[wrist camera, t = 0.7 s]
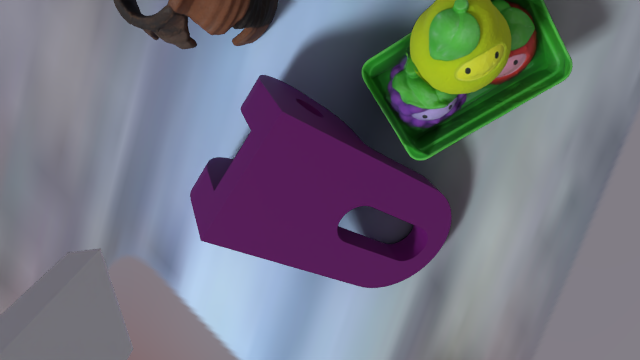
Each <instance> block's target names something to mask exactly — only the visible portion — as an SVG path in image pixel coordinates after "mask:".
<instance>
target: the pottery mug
mask: <svg viewBox="0 0 640 360" xmlns="http://www.w3.org/2000/svg"><path fill="white" fill-rule="evenodd" d="M114 3H115V6H116V8H117V10H118V11H119V13H120V14H121V16H122V17H123V18H124V19H125V20H126V21H127V22H128V23H129V24H132V25H134V26H136V27H139V28H141V29H143V30H144V31H145V32H146V33H147V34H148V35H150V36H151V37H152V38H153V39H155V40H157V39H158V38H161V39H162V40H164V41H165V42H167V43H171V44H174V45H176V46H177V47H179V48H181V49H189V48H194V47H196V46H197V43H196V41H195V40H194V39H192V38H191V37H190V33H189V30H188V17H190V18H191V19H192V20H193V21H194V22H195V23H196V24H198V25H199V26H200V27H201V28H203V29H204V30H206V31H207V32H208V33H209V34H211V35H220V34H225V33H226V32H227V31H228V30H229V29H230V28H231V27H233V28H234V29H243V28H245V29H244V30H243V31H242V32H241V33H240V34H238V35H237V36H236V37H235V38H234V39H233V40H232V42H233V44H234V45H235V46H241V45H245V44H248V43H253V42H254V41H255V40H257V39H258V38H259V37H260V36H261V35H262V34H263V33H264V32H265V31H266V29H267V28H268V26H269V24H270V23H271V22H272V20H273V17H274V15H275V12H276V10H277V6H278V0H169V1H168V4H167V6H165V7H164V8H163V9H162V10H161V11H159V12H158V13H156V14H154V15H151V16H144V15H143V14H141V12H140V10H139V7H138V5H137V2H136V0H114Z"/></svg>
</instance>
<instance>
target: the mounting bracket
mask: <svg viewBox="0 0 640 360" xmlns="http://www.w3.org/2000/svg"><path fill="white" fill-rule="evenodd" d="M241 112H242V114H243V116H244V118H245V120H246V122H247V123H248V125H249V127H250V129H251V132H250V134H249V136H248V137H247V139H246V140H245V142H244V144H243V145H242V147H241V149H240V150H239V152H238V153H237V155H236V157H235V158H234V160H233V159H229V158H222V157H219V158H213V159H211V160H210V161H209V162H208V163H207V165H206V167H205V168H204V170H203V172H202V173H201V175H200V177H199V178H198V180H197V182H196V183H195V185H194V187H193V188H192V190H191V193H190V197H191V202H192V206H193V210H194V214H195V218H196V222H197V226H198V230H199V235H200V239H201V241H204V242H207V243H211V244H214V245H218V246H221V247H225V248H228V249H232V250H235V251H239V252H242V253H246V254H249V255H253V256H256V257H260V258H263V259H267V260H270V261H273V262H277V263H280V264H284V265H287V266H291V267H294V268H298V269H301V270H305V271H308V272H312V273H315V274H319V275H322V276H326V277H329V278H332V279H336V280H339V281H343V282H346V283H350V284H353V285H357V286H361V287H366V288H378V287H385V286H389V285H393V284H395V283H398V282H401V281H403V280H405V279H407V278H409V277H410V276H412V275H414V274H415V273H417V272H418V271H420V270H421V269H422V268H423V267H425V266H426V265H427V264H428V263H429V262H430V261H431V260H432V259H433V258H434V257H435V255H436V254H437V253H438V252H439V250H440V249H441V247H442V246H443V244H444V242H445V240H446V238H447V236H448V233H449V230H450V226H451V209H450V206H449V203H448V201H447V199H446V198H445V197H444V195H443V194H442V193H441V192H440V191H439V190H438V189H437V188H436V187H435V186H434V185H432V184H431V183H430V182H429V181H428V180H427V179H426V178H425V177H424V176H422V175H421V174H419V173H417V172H415V171H413V170H411V169H409V168H407V167H405V166H403V165H402V164H400V163H398V162H396V161H394V160H392V159H390V158H388V157H386V156H384V155H382V154H380V153H378V152H377V151H375V150H373V149H371V148H370V147H368V146H367V145H366V144H364V143H363V142H362V141H361V140H360V138H359V137H358V136H357V135H356V134H355V133H354V132H353V131H352V130H351V129H350V128H349V127H348V126H347V125H346V124H345V123H344V122H343V121H342V120H340V119H339V118H338V117H337V116H335V115H334V114H333V113H332V112H330V111H329V110H328V109H326V108H325V107H323V106H322V105H320V104H318V103H317V102H315V101H314V100H312V99H311V98H309V97H308V96H306V95H305V94H303V93H302V92H300V91H298V90H297V89H295V88H293V87H292V86H290V85H288V84H286V83H284V82H282V81H280V80H278V79H275V78H273V77H270V76H266V75H260V76H259V78H258V80H257V81H256V83H255V85H254V86H253V88H252V90H251V91H250V93H249V95H248V96H247V98H246V100H245V101H244V103H243V105H242V106H241ZM360 206H370V207H373V208H375V209H377V210H380V211H382V212H385V213H387V214H389V215H392V216H394V217H396V218H399V219H401V220H403V221H406V222H408V223H410V224H413V225H414V226H413V229H412V231H411V232H410V234H409V235H408V236H407V237H406V238H405V239H403V240H402V241H400V242H398V243H395V244H384V243H382V242H379V241H376V240H374V239H371V238H368V237H365V236H363V235H360V234H357V233H355V232H352V231H349V230H347V229H344V228H341V227H339V226H338V224H339V222H340V220H341V219H342V217H343V216H344V215H345V214H346V213H347V212H349V211H350V210H352V209H354V208H356V207H360Z"/></svg>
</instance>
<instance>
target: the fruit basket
mask: <svg viewBox="0 0 640 360" xmlns="http://www.w3.org/2000/svg"><path fill="white" fill-rule="evenodd" d="M571 71H572V59H571V57H570V55H569V53H568V51H567V49H566V47H565V45H564V43H563V41H562V39H561V37H560V35H559V33H558V31H557V29H556V26H555V24H554V23H553V20H552V18H551V16H550V14H549V12H548V10H547V7H546V5H545V3H544V0H436V1H435V2H434V3H433V4H432V5H431V6H430V7H429V8H427V9H426V10H425V11H424V12H423V13H422V14H421V16H420V17H419V18H418V20H417V21H416V23H415V25H414V27H413V30H412V32H411V33H410V34H408V35H406V36H405V37H403V38H402V39H400V40H399V41H397V42H396V43H394V44H392V45H391V46H389V47H388V48H386V49H384V50H383V51H381V52H380V53H378V54H376V55H375V56H373V57H372V58H370V59H369V60H367V61H366V62H365V63H364V65H363V67H362V78H363V81H364V82H365V84H366V85H367V87H368V88H369V90H370V91H371V93H372V95H373V97H374V98H375V100H376V102H377V103H378V105H379V106H380V108H381V110H382V111H383V113H384V114H385V116H386V118H387V119H388V121H389V123H390V124H391V126H392V128H393V129H394V131H395V133H396V134H397V136H398V138H399V139H400V141H401V143H402V144H403V146H404V148H405V149H406V151H407V153H408V154H409V155H410V157H411V158H413V159H415V160H420V161H421V160H426V159H428V158H430V157H432V156H434V155H435V154H437V153H438V152H440V151H442V150H444V149H445V148H447V147H449V146H450V145H452V144H454V143H456V142H457V141H459V140H460V139H462V138H464V137H466V136H467V135H469V134H471V133H473V132H475V131H476V130H478V129H480V128H482V127H483V126H485V125H487V124H489V123H490V122H492V121H494V120H496V119H498V118H499V117H501V116H503V115H504V114H506V113H508V112H510V111H511V110H513V109H515V108H516V107H518V106H520V105H522V104H523V103H525V102H527V101H528V100H530V99H532V98H534V97H536V96H537V95H539V94H541V93H543V92H544V91H546V90H548V89H550V88H552V87H554V86H555V85H557V84H559V83H561V82H562V81H564V80H565V79H566V78H567V77H568V76H569V75H570V73H571Z"/></svg>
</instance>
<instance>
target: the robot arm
mask: <svg viewBox="0 0 640 360" xmlns="http://www.w3.org/2000/svg"><path fill="white" fill-rule="evenodd" d="M132 350H133V347H132V344H131V340H130V338H129V334H128V331H127V328H126V325H125V322H124V319H123V316H122V313H121V310H120V307H119V304H118V300H117V297H116V294H115V292H114V289H113V285H112V282H111V279H110V276H109V273H108V270H107V267H106V264H105V261H104V257H103V254H102V251H101V249H93V250H85V251H77V252H68V253H67V254H66V255H65V256H64V257H63V258H62V259H61V260H59V261H58V262H57V263H56V264H55V265H54V266H53V267H52V268H51V269H50V270H49V271H48V272H47V273H45V274H44V275H43V276H42V277H41V278H40V279H39V280H38V281H37V282H36V283H35V284H34V285H33V286H32V287H30V288H29V289H28V290H27V291H26V292H25V293H24V294H23V295H22V296H21V297H20V298H19V299H18V300H16V301H15V302H14V303H13V304H12V305H11V306H10V307H9V308H8V309H7V310H6V311H5V312H4V313H2V314H1V315H0V360H127V359H128V357H129V355H130V354H131V352H132Z"/></svg>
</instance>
